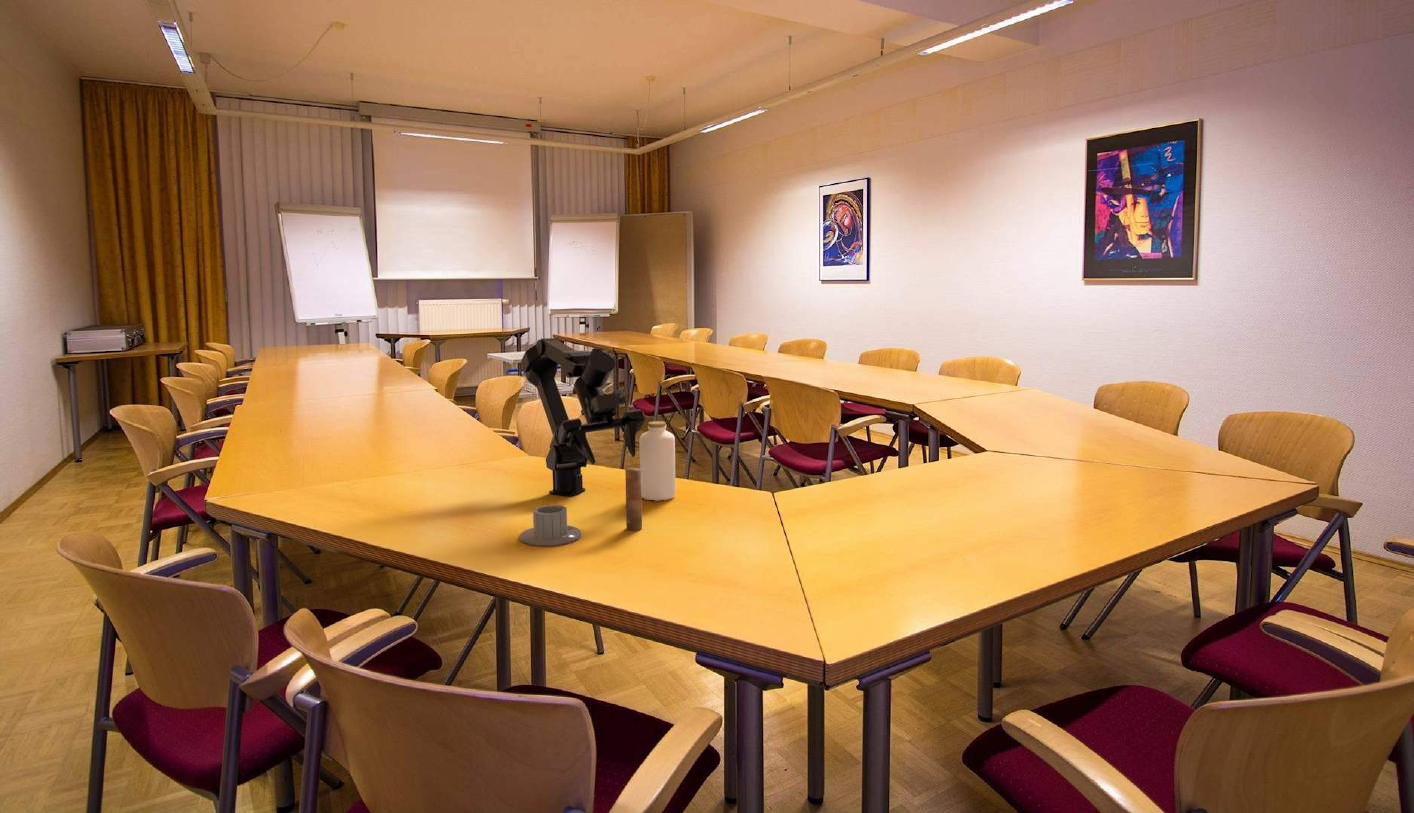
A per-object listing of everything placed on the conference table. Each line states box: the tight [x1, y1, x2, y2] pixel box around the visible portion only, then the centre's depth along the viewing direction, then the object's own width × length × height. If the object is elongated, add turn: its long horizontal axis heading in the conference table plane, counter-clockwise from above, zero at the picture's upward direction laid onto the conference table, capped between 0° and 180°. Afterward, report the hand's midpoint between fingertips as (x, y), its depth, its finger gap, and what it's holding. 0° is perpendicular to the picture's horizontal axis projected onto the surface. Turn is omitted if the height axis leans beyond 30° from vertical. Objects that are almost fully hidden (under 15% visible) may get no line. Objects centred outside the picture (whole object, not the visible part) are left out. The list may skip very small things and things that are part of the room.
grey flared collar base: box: [519, 504, 582, 548], centre depth 154 cm, size 12×12×6 cm
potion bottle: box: [638, 420, 676, 502], centre depth 182 cm, size 8×8×18 cm
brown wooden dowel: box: [624, 467, 643, 532], centre depth 159 cm, size 3×3×12 cm
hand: (614, 459), depth 165 cm, fingers open, 9 cm apart
